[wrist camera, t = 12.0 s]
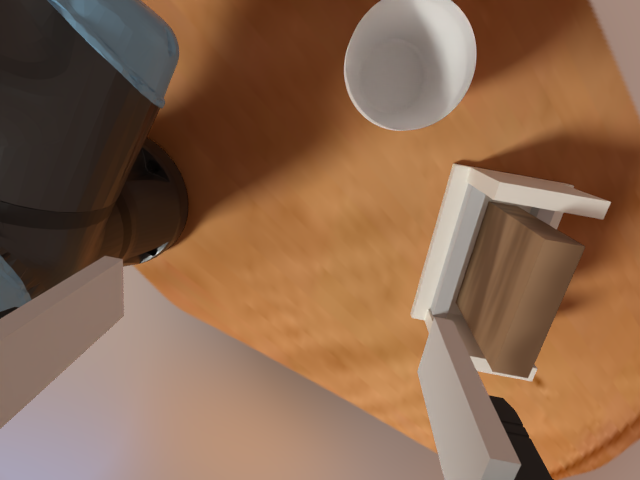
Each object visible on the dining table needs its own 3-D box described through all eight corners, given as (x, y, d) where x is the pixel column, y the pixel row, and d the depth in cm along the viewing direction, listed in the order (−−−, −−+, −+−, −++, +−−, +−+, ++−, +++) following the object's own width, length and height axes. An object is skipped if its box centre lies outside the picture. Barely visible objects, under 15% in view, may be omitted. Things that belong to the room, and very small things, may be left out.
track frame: (410, 313, 45) (424, 361, 37) (453, 163, 39) (481, 178, 31) (510, 331, 45) (547, 384, 36) (568, 183, 39) (629, 205, 30)
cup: (458, 52, 36) (507, 27, 24) (408, 141, 39) (432, 155, 27) (373, 6, 35) (384, -42, 24) (329, 99, 38) (320, 96, 27)
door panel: (455, 302, 43) (492, 371, 32) (488, 201, 39) (544, 239, 28) (483, 307, 43) (530, 378, 32) (519, 206, 39) (588, 247, 28)
